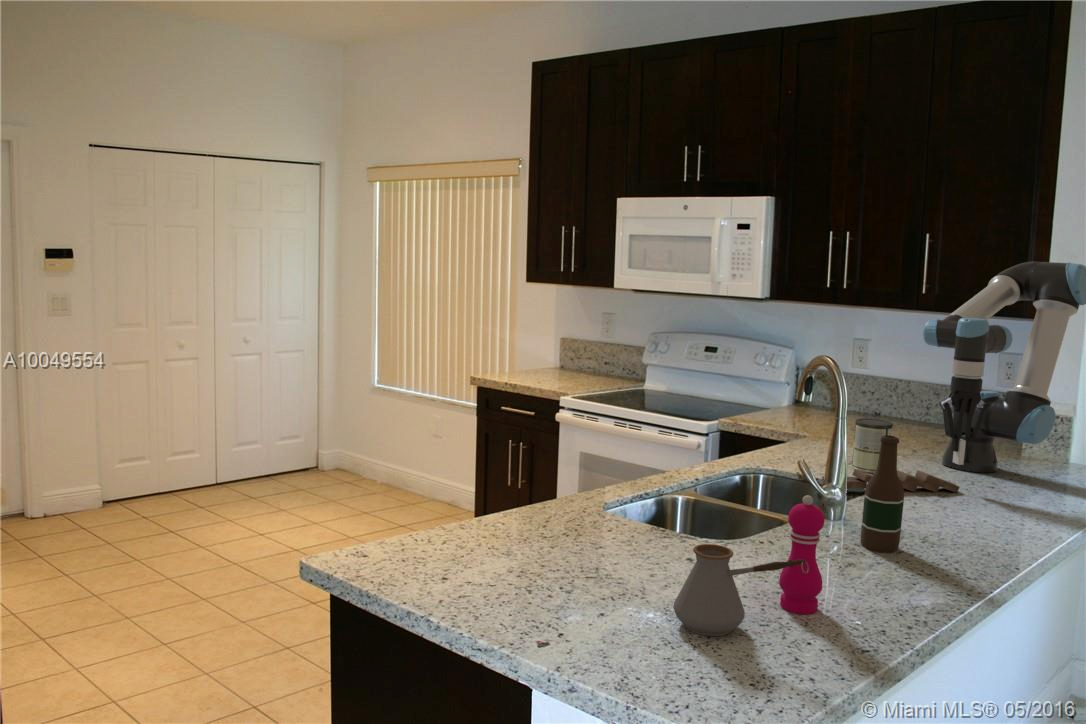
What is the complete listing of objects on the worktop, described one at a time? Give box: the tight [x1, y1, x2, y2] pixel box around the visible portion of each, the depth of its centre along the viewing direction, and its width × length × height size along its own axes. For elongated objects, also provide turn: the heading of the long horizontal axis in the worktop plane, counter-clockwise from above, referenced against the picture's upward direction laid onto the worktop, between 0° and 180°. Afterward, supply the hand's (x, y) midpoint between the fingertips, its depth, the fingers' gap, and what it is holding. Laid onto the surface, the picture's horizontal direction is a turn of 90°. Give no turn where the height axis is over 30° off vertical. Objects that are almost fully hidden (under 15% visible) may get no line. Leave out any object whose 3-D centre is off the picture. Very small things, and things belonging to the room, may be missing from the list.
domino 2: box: [852, 469, 873, 483], centre depth 241 cm, size 2×5×10 cm
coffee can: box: [851, 417, 894, 474], centre depth 264 cm, size 10×10×14 cm
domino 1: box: [821, 475, 868, 489], centre depth 240 cm, size 2×5×10 cm
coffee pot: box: [672, 543, 809, 637], centre depth 145 cm, size 21×12×15 cm, turn 53°
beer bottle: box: [860, 435, 905, 554], centre depth 192 cm, size 8×8×24 cm
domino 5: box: [897, 469, 941, 493], centre depth 244 cm, size 2×5×10 cm
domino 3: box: [847, 488, 866, 493], centre depth 241 cm, size 2×5×10 cm
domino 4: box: [873, 470, 918, 493], centre depth 243 cm, size 2×5×10 cm
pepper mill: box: [778, 494, 825, 615], centre depth 157 cm, size 7×7×20 cm
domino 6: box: [914, 469, 960, 493], centre depth 244 cm, size 2×5×10 cm
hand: (957, 463), depth 244 cm, fingers closed
